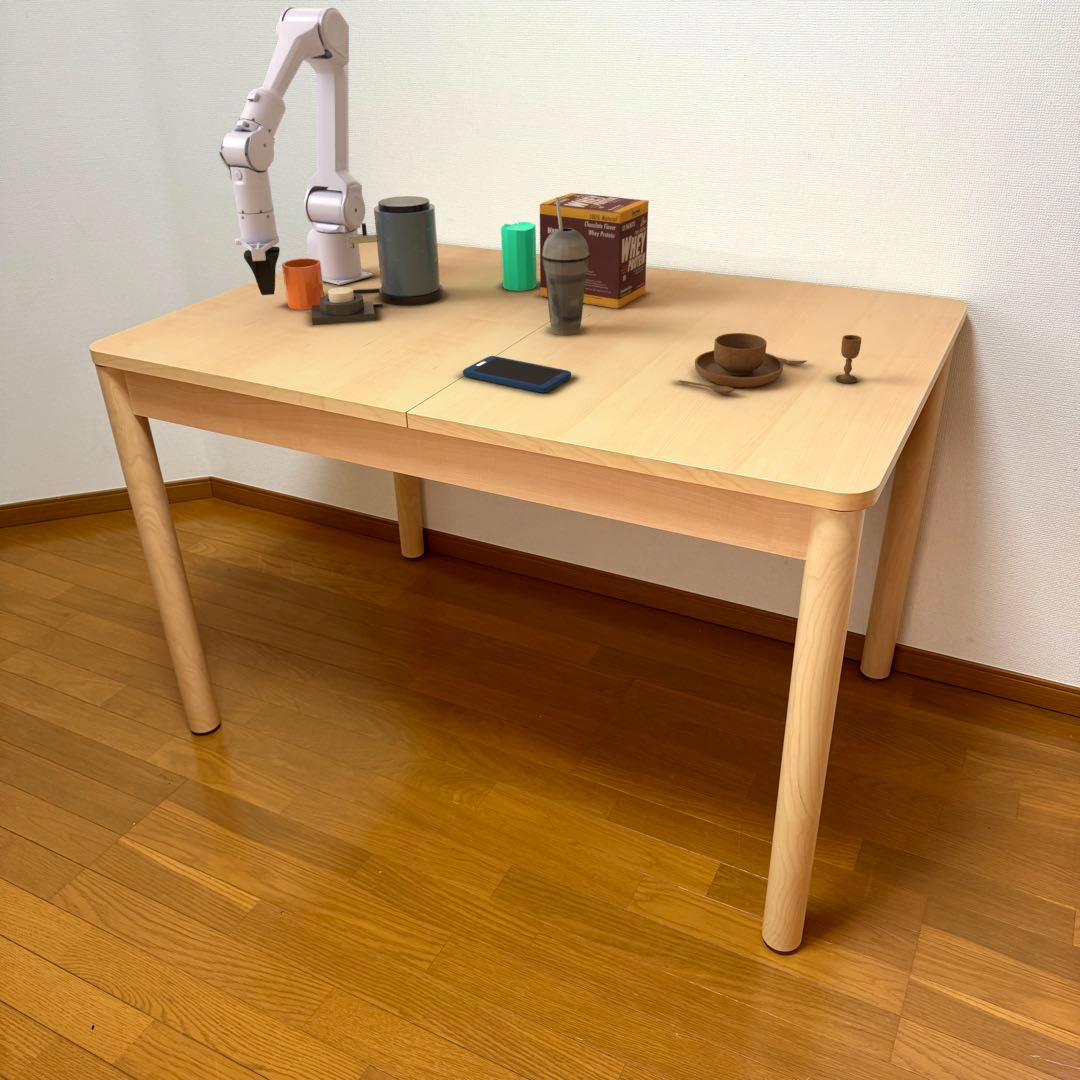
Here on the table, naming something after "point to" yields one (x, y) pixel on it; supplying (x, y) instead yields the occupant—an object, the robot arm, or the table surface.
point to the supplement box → (603, 244)
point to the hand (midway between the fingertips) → (268, 293)
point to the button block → (342, 311)
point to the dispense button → (341, 294)
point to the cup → (303, 283)
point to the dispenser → (404, 251)
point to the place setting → (755, 362)
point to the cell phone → (517, 374)
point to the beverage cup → (565, 277)
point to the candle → (519, 256)
